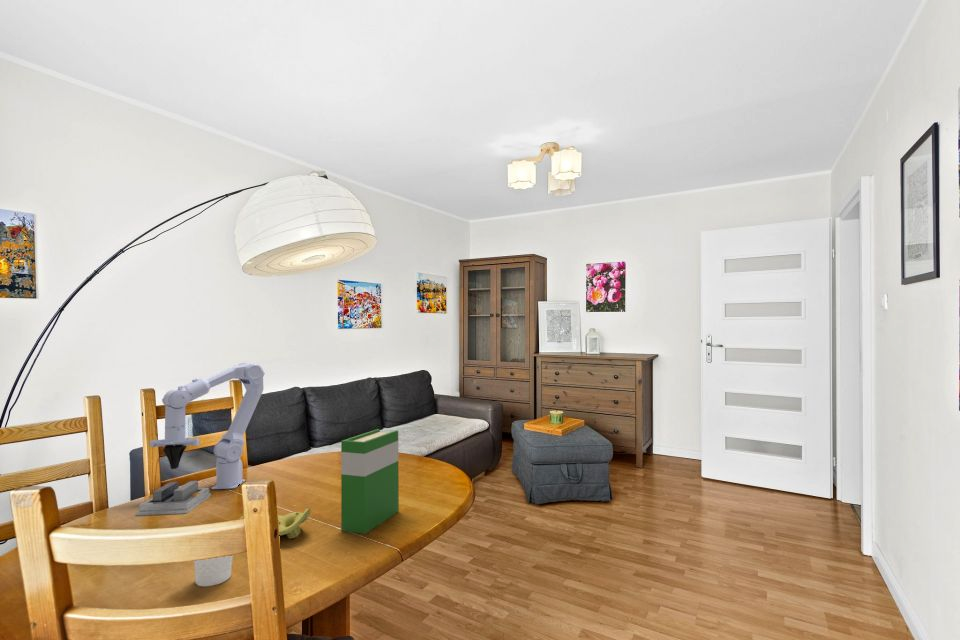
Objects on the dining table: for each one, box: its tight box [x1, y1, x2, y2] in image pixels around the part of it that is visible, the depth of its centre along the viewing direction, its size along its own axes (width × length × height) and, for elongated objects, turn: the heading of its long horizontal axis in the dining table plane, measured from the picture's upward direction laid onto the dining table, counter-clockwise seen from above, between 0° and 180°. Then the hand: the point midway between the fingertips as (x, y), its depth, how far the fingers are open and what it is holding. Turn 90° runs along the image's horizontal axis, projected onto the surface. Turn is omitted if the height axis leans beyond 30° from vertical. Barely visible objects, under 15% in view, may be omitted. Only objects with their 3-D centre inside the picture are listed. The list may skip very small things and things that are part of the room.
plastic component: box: [239, 508, 311, 539], centre depth 128 cm, size 20×7×10 cm
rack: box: [136, 481, 212, 517], centre depth 151 cm, size 16×14×6 cm
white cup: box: [193, 554, 234, 587], centre depth 104 cm, size 8×8×10 cm
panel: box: [174, 480, 199, 501], centre depth 152 cm, size 10×2×5 cm, turn 6°
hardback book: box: [340, 428, 400, 535], centre depth 137 cm, size 18×7×24 cm, turn 159°
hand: (174, 468), depth 158 cm, fingers closed
